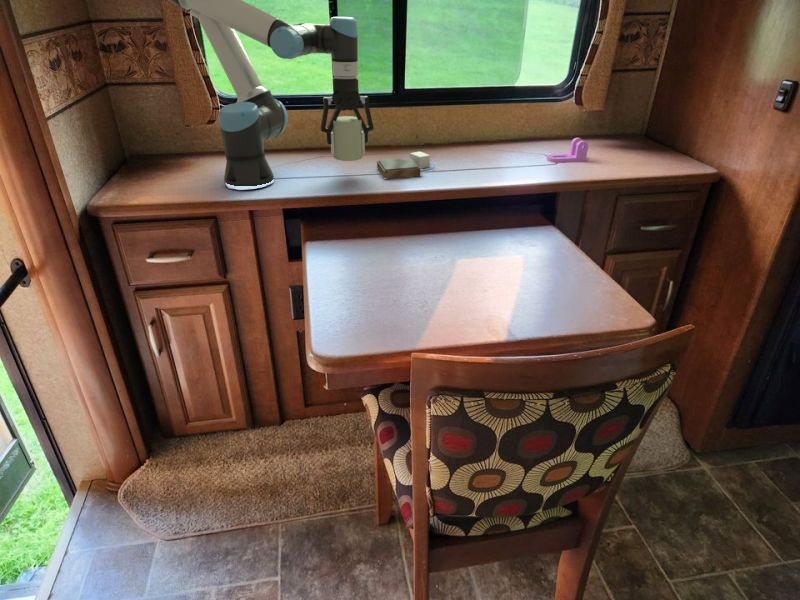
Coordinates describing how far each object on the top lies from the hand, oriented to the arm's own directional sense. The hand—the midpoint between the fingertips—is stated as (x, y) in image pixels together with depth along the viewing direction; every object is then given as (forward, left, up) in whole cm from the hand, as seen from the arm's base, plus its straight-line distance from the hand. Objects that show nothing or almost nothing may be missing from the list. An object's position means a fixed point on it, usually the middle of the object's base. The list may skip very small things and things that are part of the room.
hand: (347, 153), depth 164 cm
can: (0, 0, -1) cm, 1 cm away
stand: (+17, +2, -8) cm, 18 cm away
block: (+26, +8, -8) cm, 28 cm away
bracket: (+77, +1, -8) cm, 77 cm away
